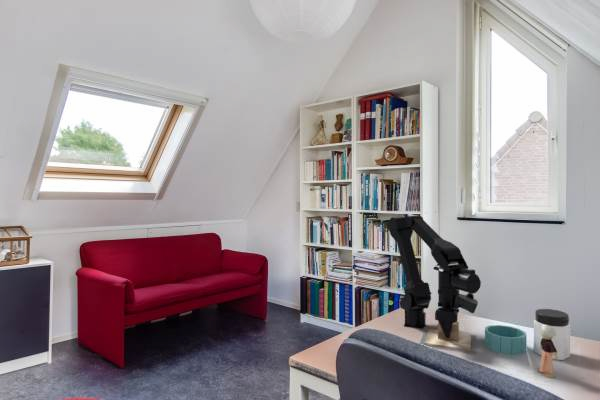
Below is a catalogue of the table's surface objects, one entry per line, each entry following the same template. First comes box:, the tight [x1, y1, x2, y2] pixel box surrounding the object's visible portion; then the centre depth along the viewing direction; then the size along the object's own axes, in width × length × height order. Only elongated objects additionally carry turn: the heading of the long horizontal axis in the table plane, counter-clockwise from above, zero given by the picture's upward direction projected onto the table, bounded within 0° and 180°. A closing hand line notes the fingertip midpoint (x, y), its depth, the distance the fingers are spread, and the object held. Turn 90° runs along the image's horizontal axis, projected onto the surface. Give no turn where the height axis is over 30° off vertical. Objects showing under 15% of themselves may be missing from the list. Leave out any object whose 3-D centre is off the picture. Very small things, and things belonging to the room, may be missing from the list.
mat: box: [419, 328, 477, 355], centre depth 126 cm, size 16×16×1 cm
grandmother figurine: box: [537, 325, 558, 378], centre depth 103 cm, size 8×4×13 cm, turn 5°
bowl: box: [484, 324, 527, 355], centre depth 121 cm, size 11×11×5 cm
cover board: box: [424, 320, 472, 351], centre depth 126 cm, size 13×13×6 cm
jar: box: [533, 308, 571, 361], centre depth 116 cm, size 9×8×12 cm
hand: (448, 335), depth 126 cm, fingers open, 5 cm apart
